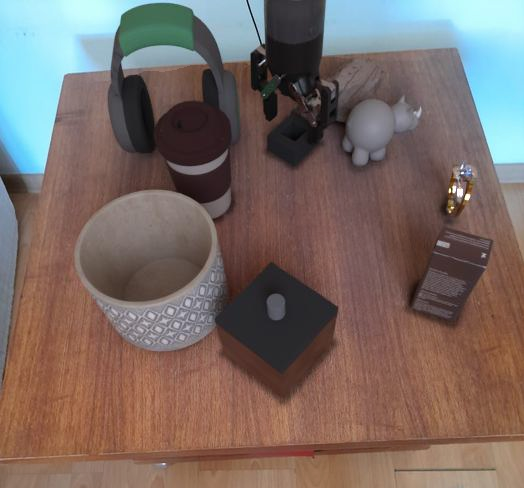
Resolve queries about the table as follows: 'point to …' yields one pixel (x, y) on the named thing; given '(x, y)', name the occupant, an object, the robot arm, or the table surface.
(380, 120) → the chubby cartoon animal
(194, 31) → the headphones
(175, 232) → the planter
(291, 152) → the top pad
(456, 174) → the ring
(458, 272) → the box
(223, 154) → the coffee cup
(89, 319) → the table surface
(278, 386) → the stand
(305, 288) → the base pad
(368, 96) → the stone
